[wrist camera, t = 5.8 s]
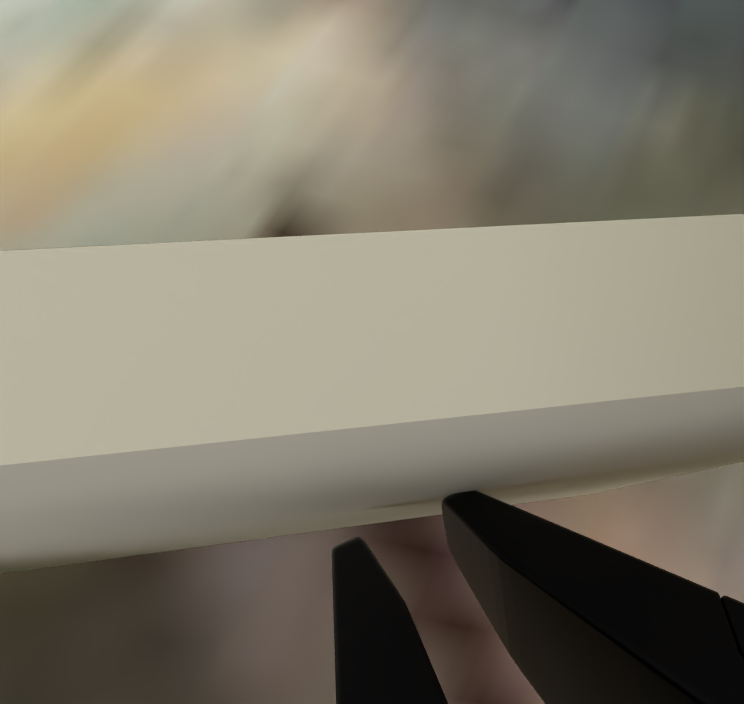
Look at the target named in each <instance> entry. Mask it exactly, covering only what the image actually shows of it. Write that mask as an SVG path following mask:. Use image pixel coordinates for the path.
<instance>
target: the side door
mask: <svg viewBox="0 0 744 704" xmlns="http://www.w3.org/2000/svg"><path fill="white" fill-rule="evenodd" d="M742 461H744V214H731V215H711V216H691V217H671V218H651V219H630V220H610V221H590V222H570V223H550V224H530V225H510V226H490V227H470V228H450V229H429V230H409V231H389V232H369V233H349V234H329V235H309V236H289V237H269V238H249V239H228V240H208V241H188V242H168V243H148V244H128V245H108V246H88V247H68V248H48V249H27V250H7V251H0V574H2V573H9V572H16V571H24V570H31V569H39V568H46V567H54V566H61V565H69V564H76V563H83V562H91V561H98V560H106V559H113V558H121V557H128V556H135V555H143V554H150V553H158V552H165V551H173V550H180V549H187V548H195V547H202V546H210V545H217V544H225V543H232V542H240V541H247V540H254V539H262V538H269V537H277V536H284V535H292V534H299V533H306V532H314V531H321V530H329V529H336V528H344V527H351V526H359V525H366V524H373V523H381V522H388V521H396V520H403V519H411V518H418V517H425V516H433V515H440V514H442V508H441V505H442V500H443V499H444V498H445V497H447V496H449V495H452V494H455V493H461V492H467V491H473V490H476V491H479V492H481V493H483V494H486V495H488V496H491V497H493V498H495V499H498V500H500V501H502V502H505V503H507V504H510V505H515V504H522V503H530V502H537V501H544V500H552V499H559V498H567V497H574V496H582V495H589V494H594V493H599V492H604V491H608V490H613V489H617V488H622V487H627V486H631V485H636V484H641V483H645V482H650V481H654V480H659V479H664V478H668V477H673V476H677V475H682V474H687V473H691V472H696V471H700V470H705V469H710V468H714V467H719V466H724V465H728V464H733V463H737V462H742Z"/></svg>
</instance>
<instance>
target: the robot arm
mask: <svg viewBox="0 0 744 704" xmlns="http://www.w3.org/2000/svg"><path fill="white" fill-rule="evenodd" d="M441 508H442V514H443V520H444V525H445V531H446V536H447V542H448V546H449V549H450V551H451V554H452V556H453V558H454V560H455V562H456V564H457V565H458V567H459V569H460V570H461V572H462V574H463V576H464V577H465V579H466V581H467V583H468V584H469V586H470V588H471V589H472V591H473V593H474V595H475V596H476V598H477V600H478V601H479V603H480V605H481V607H482V608H483V610H484V612H485V613H486V615H487V617H488V619H489V620H490V622H491V624H492V626H493V627H494V629H495V631H496V632H497V634H498V636H499V638H500V639H501V641H502V643H503V644H504V646H505V648H506V649H507V651H508V653H509V654H510V656H511V657H512V659H513V660H514V662H515V663H516V664H517V666H518V667H519V669H520V670H521V672H522V673H523V674H524V676H525V677H526V678H527V680H528V681H529V682H530V684H531V685H532V686H533V688H534V689H535V690H536V692H537V693H538V695H539V696H540V697H541V699H542V700H543V701H544V703H545V704H744V603H742V602H740V601H737V600H735V599H733V598H730V597H728V596H722V597H721V598H720V595H719V594H718V593H717V592H715V591H713V590H711V589H708V588H706V587H704V586H701V585H699V584H696V583H694V582H692V581H689V580H687V579H685V578H682V577H680V576H678V575H675V574H673V573H670V572H668V571H666V570H663V569H661V568H659V567H656V566H654V565H651V564H649V563H647V562H644V561H642V560H640V559H637V558H635V557H633V556H630V555H628V554H625V553H623V552H621V551H618V550H616V549H614V548H611V547H609V546H607V545H604V544H602V543H599V542H597V541H595V540H592V539H590V538H588V537H585V536H583V535H580V534H578V533H576V532H573V531H571V530H569V529H566V528H564V527H562V526H559V525H557V524H554V523H552V522H550V521H547V520H545V519H543V518H540V517H538V516H536V515H533V514H531V513H528V512H526V511H524V510H521V509H519V508H517V507H514V506H512V505H510V504H507V503H505V502H502V501H500V500H498V499H495V498H493V497H491V496H488V495H486V494H483V493H481V492H479V491H476V490H473V491H467V492H461V493H455V494H452V495H449V496H447V497H445V498H444V499H443V500H442V505H441ZM332 579H333V612H334V645H335V678H336V704H448V702H447V700H446V698H445V695H444V693H443V690H442V688H441V686H440V683H439V681H438V678H437V676H436V674H435V671H434V669H433V667H432V664H431V662H430V659H429V657H428V655H427V652H426V650H425V648H424V645H423V643H422V640H421V638H420V636H419V633H418V631H417V629H416V626H415V624H414V621H413V619H412V617H411V614H410V612H409V610H408V608H407V606H406V604H405V602H404V600H403V598H402V597H401V595H400V593H399V592H398V590H397V589H396V587H395V586H394V584H393V583H392V581H391V580H390V578H389V577H388V575H387V574H386V572H385V571H384V569H383V568H382V566H381V565H380V563H379V562H378V560H377V559H376V557H375V556H374V554H373V553H372V551H371V550H370V548H369V547H368V545H367V544H366V542H365V541H364V540H363V539H362V538H360V537H355V538H353V539H351V540H348V541H346V542H344V543H342V544H339V545H337V546H335V547H334V548H333V550H332Z"/></svg>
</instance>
